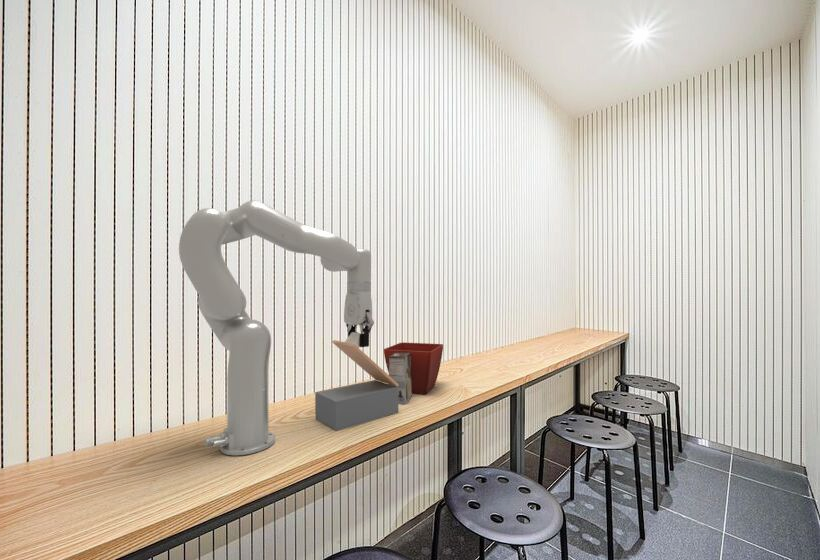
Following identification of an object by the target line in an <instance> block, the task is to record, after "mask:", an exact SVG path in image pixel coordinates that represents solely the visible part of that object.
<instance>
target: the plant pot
mask: <svg viewBox="0 0 820 560" xmlns="http://www.w3.org/2000/svg"><path fill="white" fill-rule="evenodd" d="M443 351H444V344H442V343H426V342H425V343H423V342H405V341H403V342H402V341H401V342H399V343H396V344H393V345H391V346H388V347H386V348H383V354H384V355H383V356H384V360H385V364H386V369H387V372H388V373H387V374H389V360H388V357H389V356H391V355H392V354H394V353H411V389H412V394H418V395H426V394H428V393H429V392H430V391H431V390H432V389H433V388H434V387H435V386H436V383H437V380H438V375H439V371H440V368H441V364H442V358H443Z"/></svg>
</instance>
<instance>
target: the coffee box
mask: <svg viewBox="0 0 820 560" xmlns="http://www.w3.org/2000/svg"><path fill="white" fill-rule="evenodd" d="M388 360H389V373H388V375H389V376H390V377H391V378H392V379H393V380H395V381H396V382H397V383H398V384H399V385H398V405H399V404H400V405H402V404H404V405H406V404H408V402H409V401H410V399H411V398H412V395H413V393H412V389H411V353H394V354H392V355H391V356H389V357H388ZM389 385H390V384H389ZM393 386H394V385H393ZM396 387H397V386H396Z"/></svg>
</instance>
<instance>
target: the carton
mask: <svg viewBox="0 0 820 560" xmlns="http://www.w3.org/2000/svg"><path fill="white" fill-rule="evenodd" d="M314 393H315V394H314V396H315V398H314V399H315V401H314V403H315V409H314V410H315V413H314V414H315V420H316V421H318V422H320V423H322V424H324V425H325V426H327V427H328V428H331V429H332V430H334V431H335V432H338V431H341V430H344V429H345V430H346V429H348V428H350V427H354V426H358V425H361V424H364V423H368V422H371V421H374V420H378V419H382V418H384V417H388V416H392V415H395V413H396V414H399V404H398V387H396V386H393V385H389V384H387V383H384V382H381V381H377V380H375V379H372V380H368V381H364V382H358V383H354V384H349V385H343V386H338V387H333V388H329V389H326V390H320V391H315V392H314Z"/></svg>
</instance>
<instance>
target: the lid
mask: <svg viewBox="0 0 820 560" xmlns="http://www.w3.org/2000/svg"><path fill="white" fill-rule="evenodd" d="M360 334H361V332H357V333H355V332H351V334H350V335H349V337H348V336H347V338H346V340H345V341H339V340H334V339H333V340H332V342H331V344H333V345H334V346H335V347H337V348H338V349H339V350H340V351H342V352H343V353H344V355H346V356H347V357H349V358H350V359H351V360H352V361H353V362H354V363H355V364H356V365H358V367H360V368H361V369H362V370H363V371H365V372H366V373H367V375H369V376H370V377H371V378H373V380H376V381H380V382H383V383H386V384H390V385H394V386H397V387H398V385H399V384H398V383H397V382H396V381H395V380H393V379H392V378H391V377H390V376H389V373H387V372H386V371H384V370H383V369H382V368H381V366H379V365H378V364H377V363H376V362H375V361H374V360H373V359H371V358H370V357H369V356H368V355H367V354H366V353H365V352H364V351H362V349H361V347H360V346H359V337H360Z"/></svg>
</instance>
